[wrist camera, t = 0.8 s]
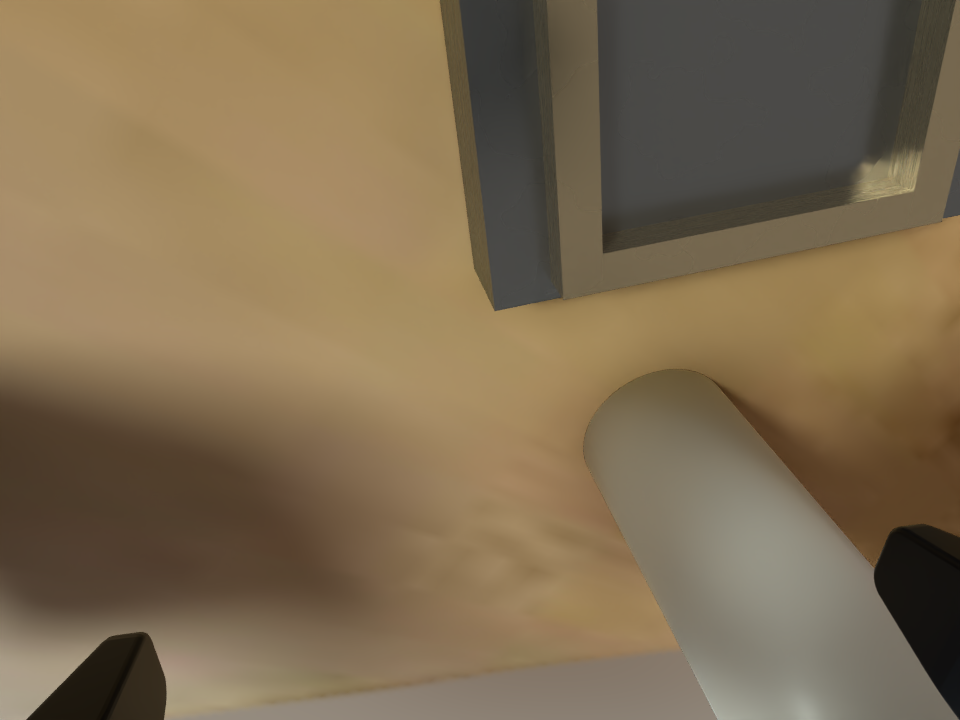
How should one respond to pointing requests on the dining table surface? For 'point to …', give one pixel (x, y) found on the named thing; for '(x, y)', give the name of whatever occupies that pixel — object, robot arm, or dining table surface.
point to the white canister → (748, 563)
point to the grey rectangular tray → (694, 133)
